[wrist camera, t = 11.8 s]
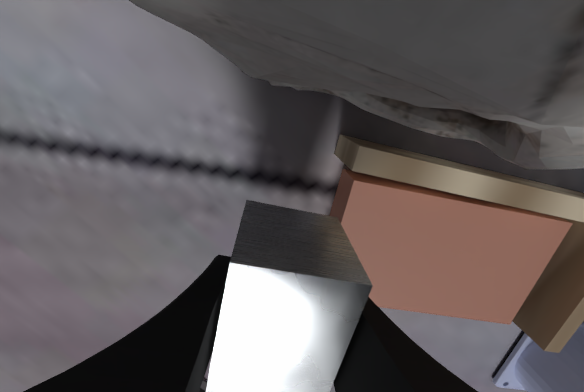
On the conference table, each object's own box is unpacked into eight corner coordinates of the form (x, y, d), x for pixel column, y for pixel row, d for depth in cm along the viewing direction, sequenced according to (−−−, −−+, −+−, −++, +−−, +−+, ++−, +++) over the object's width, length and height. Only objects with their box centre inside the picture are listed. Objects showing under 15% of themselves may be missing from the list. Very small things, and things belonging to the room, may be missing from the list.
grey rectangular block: (337, 217, 12) (372, 285, 8) (303, 322, 14) (316, 422, 10) (246, 199, 11) (229, 262, 7) (224, 311, 13) (201, 413, 9)
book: (528, 204, 19) (573, 223, 16) (479, 294, 22) (510, 324, 19) (341, 166, 17) (354, 180, 14) (312, 270, 20) (318, 298, 17)
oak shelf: (583, 193, 18) (662, 217, 15) (510, 308, 22) (559, 353, 18) (339, 134, 16) (359, 145, 12) (298, 274, 19) (304, 317, 16)
